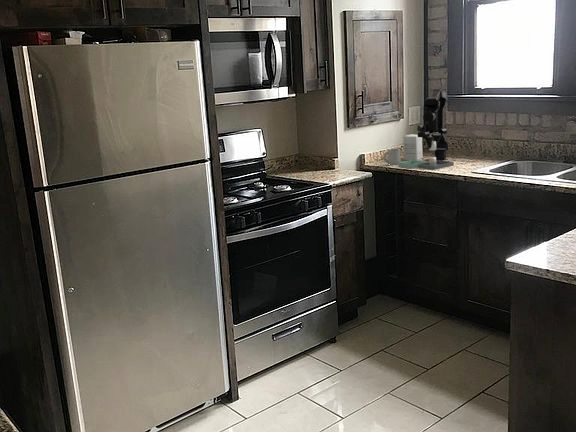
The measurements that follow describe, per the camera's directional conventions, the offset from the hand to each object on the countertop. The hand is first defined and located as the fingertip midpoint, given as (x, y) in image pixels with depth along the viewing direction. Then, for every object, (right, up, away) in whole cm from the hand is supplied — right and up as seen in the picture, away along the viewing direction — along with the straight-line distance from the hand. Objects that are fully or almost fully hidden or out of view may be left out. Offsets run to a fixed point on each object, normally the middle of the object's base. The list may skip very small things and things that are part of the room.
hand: (432, 147), depth 359 cm
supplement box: (-4, -3, +36) cm, 37 cm away
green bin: (-10, -10, +9) cm, 17 cm away
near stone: (0, -1, 0) cm, 1 cm away
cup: (-20, -8, +21) cm, 30 cm away
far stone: (+1, -10, +5) cm, 11 cm away
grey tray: (+3, -11, +3) cm, 12 cm away
